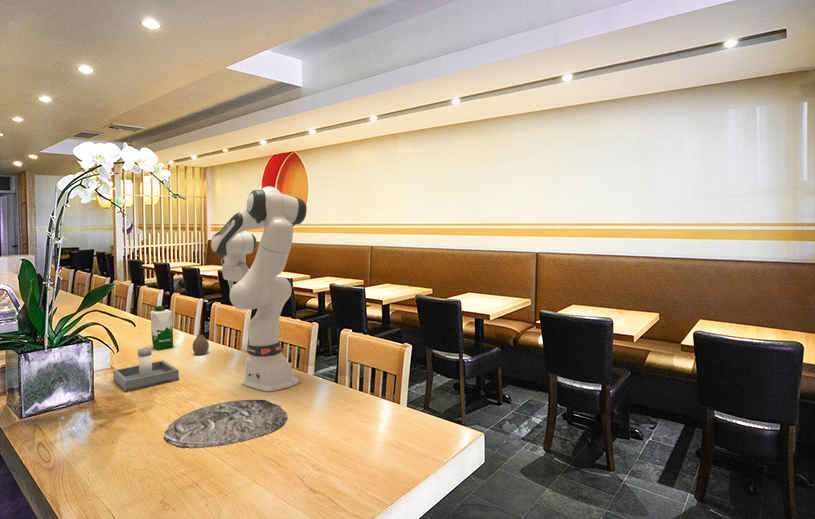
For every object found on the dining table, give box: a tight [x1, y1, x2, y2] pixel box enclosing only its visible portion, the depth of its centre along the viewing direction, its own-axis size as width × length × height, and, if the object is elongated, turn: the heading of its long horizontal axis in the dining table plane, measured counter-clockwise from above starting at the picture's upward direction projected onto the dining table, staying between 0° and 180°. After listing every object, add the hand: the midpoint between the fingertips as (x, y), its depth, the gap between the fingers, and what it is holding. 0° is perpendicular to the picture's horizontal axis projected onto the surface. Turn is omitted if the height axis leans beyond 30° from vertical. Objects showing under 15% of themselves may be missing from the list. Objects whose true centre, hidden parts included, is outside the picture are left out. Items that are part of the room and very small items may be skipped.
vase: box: [192, 334, 210, 356], centre depth 218 cm, size 7×7×9 cm
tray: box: [112, 360, 180, 393], centre depth 182 cm, size 18×18×4 cm
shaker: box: [137, 347, 153, 377], centre depth 182 cm, size 5×5×11 cm
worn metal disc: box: [163, 399, 289, 449], centre depth 144 cm, size 33×35×1 cm
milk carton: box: [150, 305, 174, 351], centre depth 229 cm, size 9×9×20 cm
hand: (236, 291), depth 214 cm, fingers open, 8 cm apart
